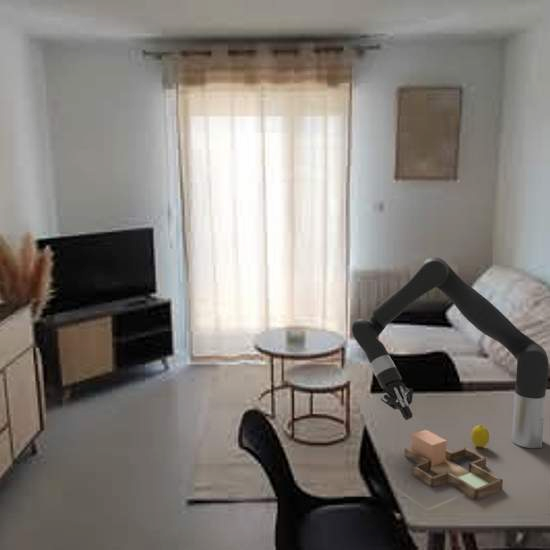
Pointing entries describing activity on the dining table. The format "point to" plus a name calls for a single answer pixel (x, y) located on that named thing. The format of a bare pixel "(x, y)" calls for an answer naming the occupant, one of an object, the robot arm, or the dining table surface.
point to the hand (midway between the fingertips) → (409, 418)
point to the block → (429, 446)
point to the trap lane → (456, 472)
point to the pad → (473, 480)
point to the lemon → (480, 436)
